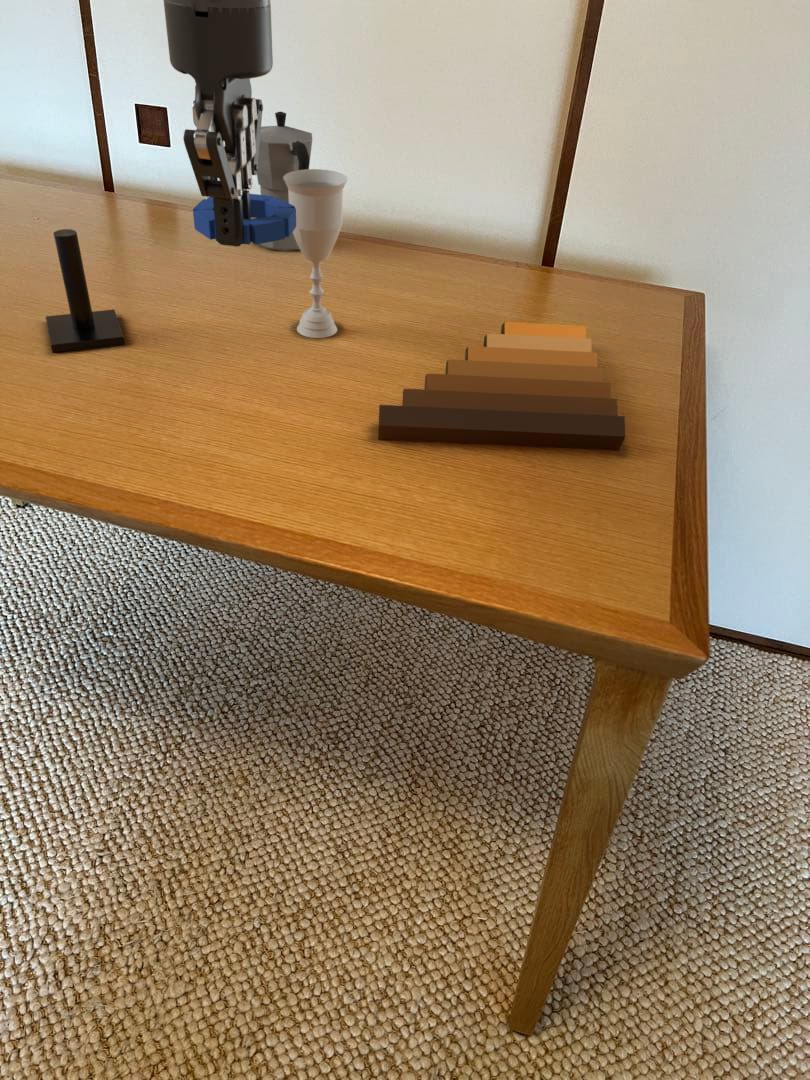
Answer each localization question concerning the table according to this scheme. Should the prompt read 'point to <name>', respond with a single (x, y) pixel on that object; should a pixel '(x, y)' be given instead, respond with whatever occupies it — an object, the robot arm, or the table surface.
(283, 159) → the coffeepot
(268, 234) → the ring
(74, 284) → the black peg stand
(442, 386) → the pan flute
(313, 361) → the table surface
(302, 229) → the chalice
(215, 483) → the table surface
